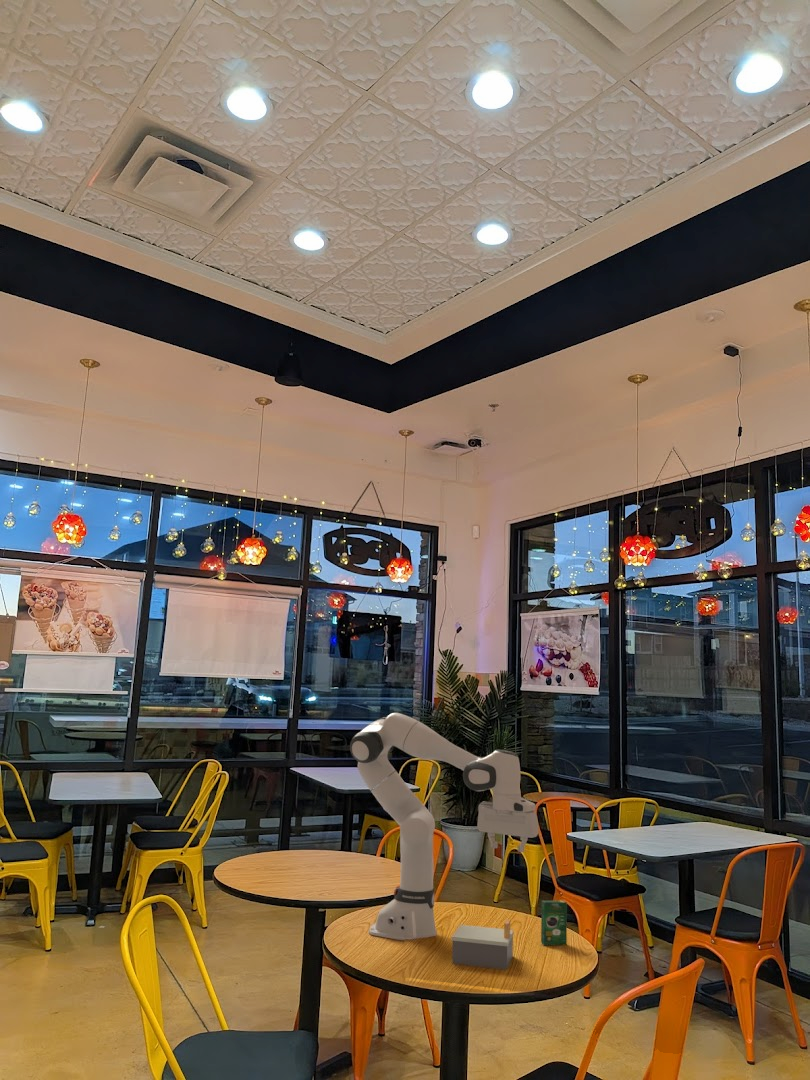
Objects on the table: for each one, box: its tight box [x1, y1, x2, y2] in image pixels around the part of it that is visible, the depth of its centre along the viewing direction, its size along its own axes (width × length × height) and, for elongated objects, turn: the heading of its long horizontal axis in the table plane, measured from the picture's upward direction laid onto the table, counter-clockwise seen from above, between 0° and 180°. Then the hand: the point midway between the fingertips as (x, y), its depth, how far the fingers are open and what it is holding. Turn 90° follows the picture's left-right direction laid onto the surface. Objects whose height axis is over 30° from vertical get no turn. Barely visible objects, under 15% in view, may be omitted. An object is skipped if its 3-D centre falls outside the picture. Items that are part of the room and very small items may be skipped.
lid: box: [451, 918, 514, 946], centre depth 231 cm, size 16×13×6 cm
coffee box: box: [540, 900, 568, 946], centre depth 250 cm, size 8×3×13 cm, turn 101°
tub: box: [451, 936, 514, 971], centre depth 230 cm, size 16×13×7 cm
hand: (507, 849), depth 240 cm, fingers open, 8 cm apart
